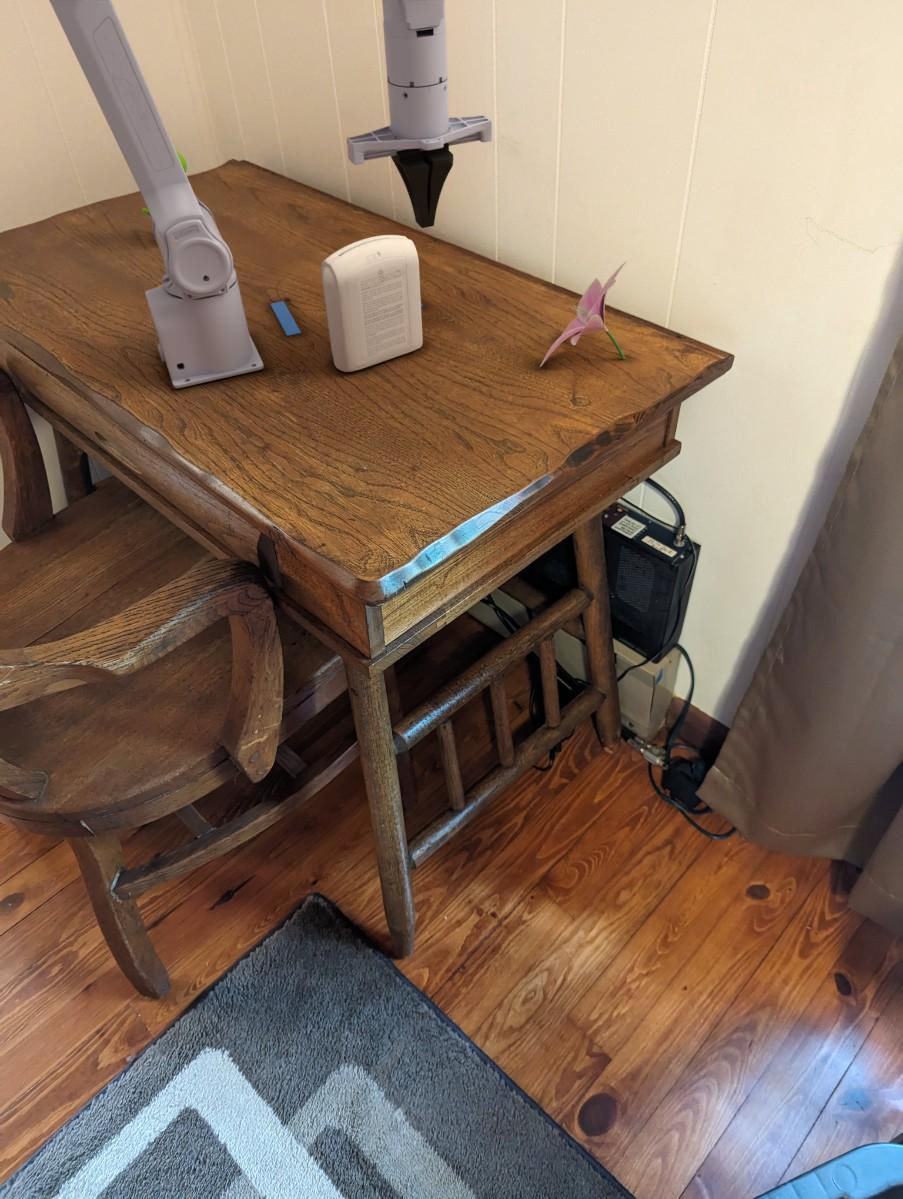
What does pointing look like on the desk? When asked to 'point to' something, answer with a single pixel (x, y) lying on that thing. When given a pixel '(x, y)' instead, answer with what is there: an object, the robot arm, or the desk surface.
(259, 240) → the desk surface
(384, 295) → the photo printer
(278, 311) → the tape marks
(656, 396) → the desk surface
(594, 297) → the lily
